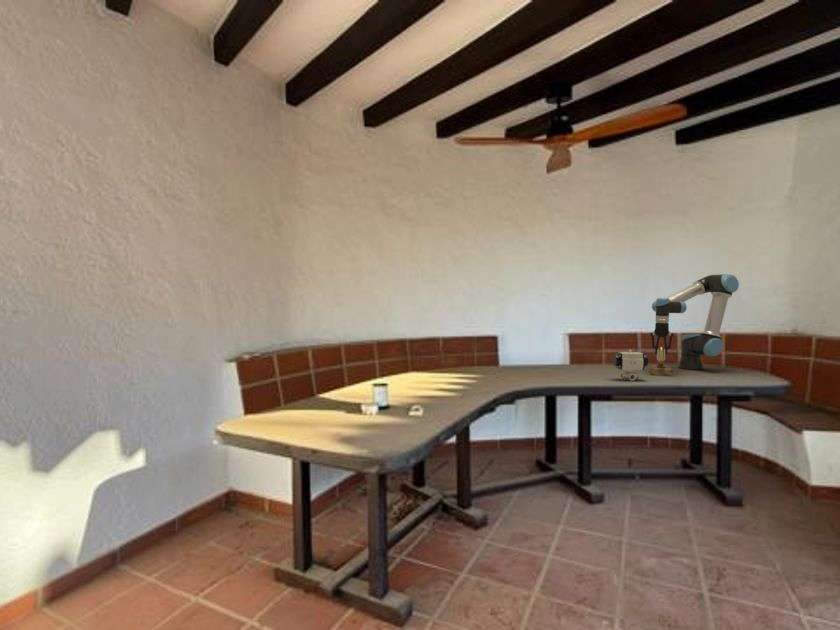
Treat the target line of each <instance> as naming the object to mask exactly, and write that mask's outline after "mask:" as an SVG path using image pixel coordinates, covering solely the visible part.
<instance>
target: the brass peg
mask: <svg viewBox="0 0 840 630" xmlns="http://www.w3.org/2000/svg"><path fill="white" fill-rule="evenodd" d="M658 349H659V360H657V365H658V366H665V365H664V364H665V363H664V361H665V360H663V359H664V349H665V346H658Z"/></svg>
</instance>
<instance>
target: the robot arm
mask: <svg viewBox="0 0 840 630" xmlns="http://www.w3.org/2000/svg"><path fill="white" fill-rule="evenodd" d="M739 283H740V282H739V280H738V278H737V276H735V275H733V274H732V273H731V274H727V273H725V274H710V275H707V276H703V278H700V279H698V280H696V281H693V282H692V284H691V285H689V286H687V287H685V288H684V289H682V290H679V291H677V292H675V293H673V294H672V295H670V296H668V297H666V298H665V297H659V298H656V300H655V301H653V302H652V304H651V308H652V311H654V312H655V324H654V325H655V327H654V331H651V332H650V333H649V334H650V336H651V347H652V349H654V350H655V351H654V354H655V355H656V360H657V361H658V360H659V349H658V347H659V344H660V338H663V344H664V346H663V347H664V359H663V360H664V361H665V360H666V356H667V355H668V350H671V346H672V340H673V336H674V333H673V332H670V328H669V327H670V326H669V325H670V324H669V321H670V318H669V317H670V314H684V313H685V312H686V311H687V303H686V302H687V301H689V300H691V299H693V298H695V297H696V296H698V295H700V296H701V295H704V294H707V293H711V295H712V299H711V302H710V307H709V310H708V313H707V319H706V321H705V326H704V330H703V331H702V332H700V334H696V333H695V334H684V335H682V337H681V341H680V342H681V344H680V345H681V349H680V350H681V353H680V354H681V355H680V359H679V361H678V364H677V368H678V367H680V368H679V369H682V368H685V369H684V370H689V369H696V370H695V371H700V370H699V369H703V370H704V369H705V367H704V363H703V360H702V355H703V356H708V357H716V356H718V355H720V354H721V353H722V351H723V349H724V341H723V340H722V336H721V335H720V332H721V328H722V325H723V320H724V316H725V313H726V308H727V304H728V301H729V298H731V297H732V296H733V293H735V292H736V291H738V290H739V287H740V286H739V285H740V284H739ZM655 335H656V336H657V337H656V343H655V337H654V336H655ZM667 336H669V337H668V343H667Z"/></svg>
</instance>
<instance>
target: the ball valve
mask: <svg viewBox="0 0 840 630" xmlns="http://www.w3.org/2000/svg"><path fill="white" fill-rule="evenodd" d="M612 364H613V366H614V367H615V368H616V369H618V370H620V371H621V370H623V372H621V373H620V378H621V379H622V380H625V381H631V382H632V381H636V380H639V379H640V373H638V372H636V371H645V368H647V366H648V364H649V359H648V356H647V355H646V354H645V353H643V352H640V351H633V350H632V349H629V350H628V351H616V353H615V354H614V355H613V356H612Z"/></svg>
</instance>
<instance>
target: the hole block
mask: <svg viewBox="0 0 840 630" xmlns="http://www.w3.org/2000/svg"><path fill="white" fill-rule="evenodd" d="M648 370H649V373H650V375H651V376H663V377H664V376H665V377H674V369H673V368H672V367H671V365H663V366H658V364H656V365H655V364H649V369H648Z"/></svg>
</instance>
